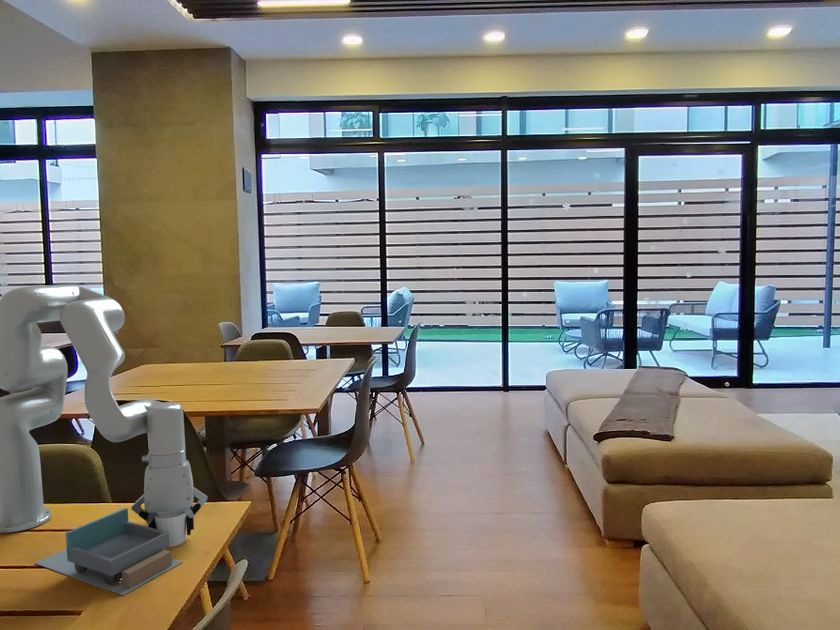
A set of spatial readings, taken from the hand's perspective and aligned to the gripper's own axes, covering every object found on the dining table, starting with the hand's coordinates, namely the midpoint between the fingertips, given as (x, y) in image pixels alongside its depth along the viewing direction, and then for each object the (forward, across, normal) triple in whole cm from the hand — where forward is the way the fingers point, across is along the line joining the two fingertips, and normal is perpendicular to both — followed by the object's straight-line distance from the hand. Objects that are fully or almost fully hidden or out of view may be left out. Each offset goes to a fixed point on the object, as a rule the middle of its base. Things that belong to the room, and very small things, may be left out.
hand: (171, 534), depth 139 cm
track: (+2, -12, -6) cm, 14 cm away
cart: (+2, -9, -9) cm, 13 cm away
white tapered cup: (+2, 0, 0) cm, 2 cm away
